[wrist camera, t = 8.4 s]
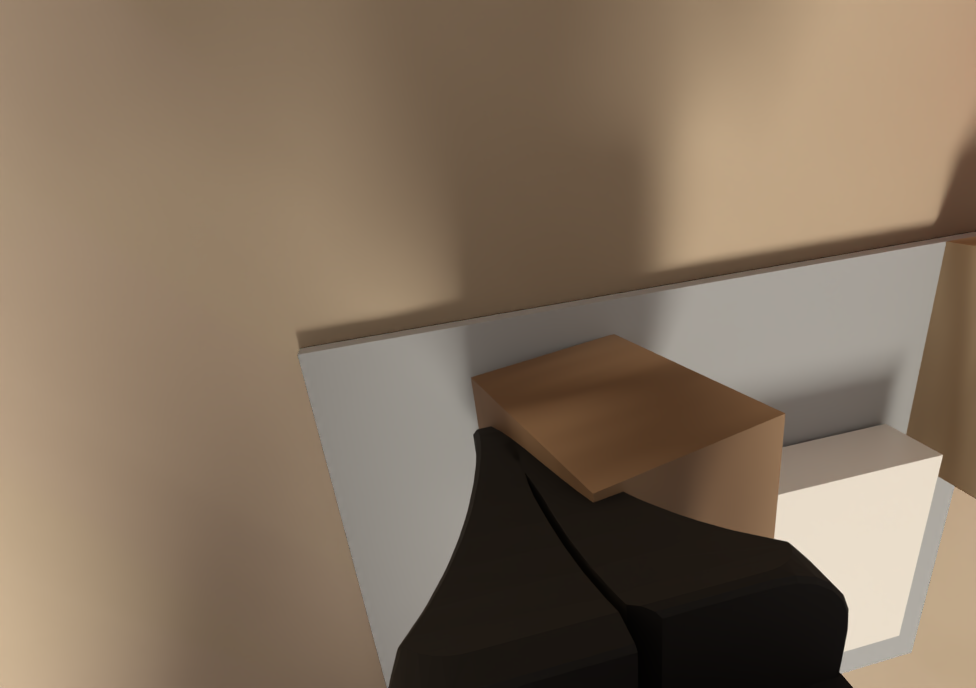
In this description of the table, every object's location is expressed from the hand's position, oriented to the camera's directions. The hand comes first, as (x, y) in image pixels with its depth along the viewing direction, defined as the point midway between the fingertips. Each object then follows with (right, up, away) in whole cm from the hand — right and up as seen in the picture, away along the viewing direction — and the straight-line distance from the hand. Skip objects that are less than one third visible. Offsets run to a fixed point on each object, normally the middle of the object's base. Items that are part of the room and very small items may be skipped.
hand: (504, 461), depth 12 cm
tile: (+6, -5, +4) cm, 8 cm away
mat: (+6, -3, +5) cm, 8 cm away
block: (+1, +1, +1) cm, 2 cm away
